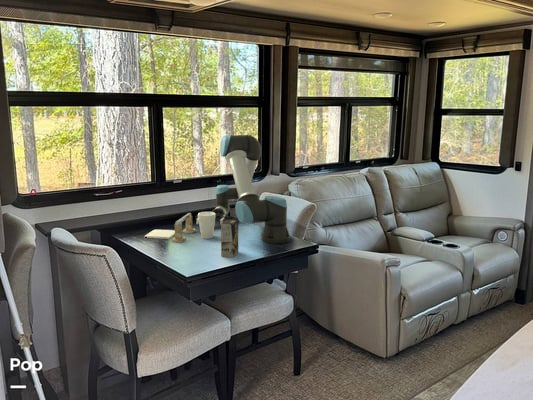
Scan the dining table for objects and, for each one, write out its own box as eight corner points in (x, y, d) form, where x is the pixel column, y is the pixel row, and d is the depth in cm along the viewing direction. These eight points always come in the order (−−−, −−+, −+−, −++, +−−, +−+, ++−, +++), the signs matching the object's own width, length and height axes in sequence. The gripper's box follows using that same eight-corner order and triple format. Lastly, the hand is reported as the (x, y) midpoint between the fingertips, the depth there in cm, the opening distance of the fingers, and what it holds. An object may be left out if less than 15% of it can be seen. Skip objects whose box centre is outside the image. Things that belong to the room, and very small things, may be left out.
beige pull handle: (185, 230, 263) (185, 215, 261) (195, 230, 262) (195, 215, 260) (171, 241, 240) (171, 224, 239) (182, 242, 240) (182, 225, 238)
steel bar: (188, 215, 260) (188, 212, 260) (191, 215, 260) (191, 213, 260) (175, 224, 239) (175, 222, 239) (178, 224, 239) (178, 222, 238)
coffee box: (234, 257, 215) (233, 224, 212) (220, 256, 216) (220, 223, 213) (239, 251, 224) (238, 219, 220) (226, 250, 225) (225, 219, 222)
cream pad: (178, 232, 259) (177, 230, 259) (169, 238, 245) (169, 237, 245) (154, 231, 261) (154, 229, 261) (144, 237, 247) (144, 236, 247)
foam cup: (197, 235, 252) (196, 212, 250) (213, 234, 255) (213, 211, 253) (200, 239, 244) (199, 216, 241) (217, 238, 246) (216, 215, 244)
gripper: (239, 220, 273) (231, 229, 253) (198, 219, 277) (187, 227, 256) (238, 208, 272) (230, 216, 251) (198, 206, 276) (187, 214, 255)
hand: (209, 222), depth 254 cm, fingers open, 13 cm apart
